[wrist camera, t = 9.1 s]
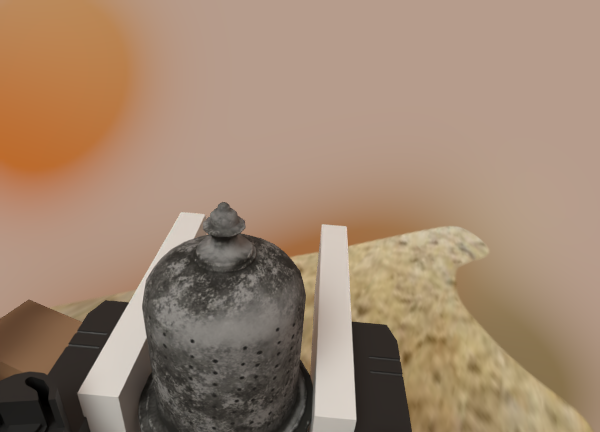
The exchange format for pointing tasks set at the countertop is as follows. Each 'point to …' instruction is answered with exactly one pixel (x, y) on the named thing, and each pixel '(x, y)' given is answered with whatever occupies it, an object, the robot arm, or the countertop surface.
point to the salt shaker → (225, 336)
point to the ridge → (33, 338)
